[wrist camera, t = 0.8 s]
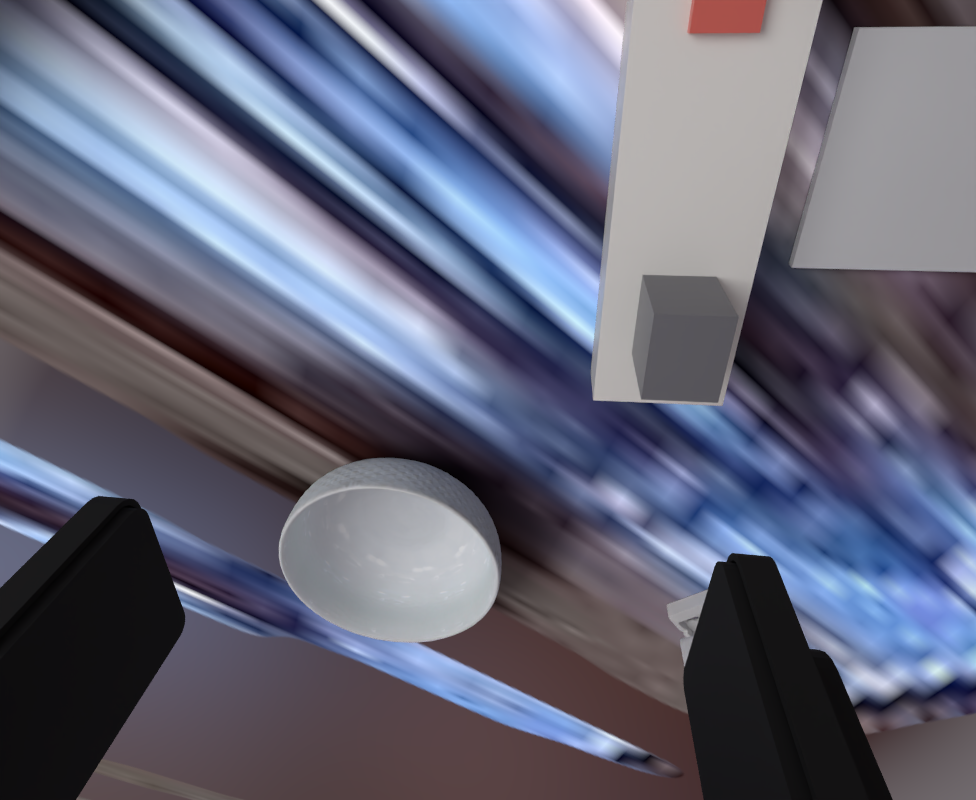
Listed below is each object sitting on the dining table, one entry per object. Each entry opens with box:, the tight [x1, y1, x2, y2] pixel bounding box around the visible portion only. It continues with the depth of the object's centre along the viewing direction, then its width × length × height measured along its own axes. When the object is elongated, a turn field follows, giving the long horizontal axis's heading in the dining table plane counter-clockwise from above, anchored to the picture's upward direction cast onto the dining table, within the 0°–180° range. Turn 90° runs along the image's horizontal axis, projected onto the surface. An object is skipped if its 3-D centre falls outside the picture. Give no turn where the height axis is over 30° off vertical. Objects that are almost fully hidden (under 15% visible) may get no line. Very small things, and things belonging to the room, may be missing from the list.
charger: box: [632, 275, 739, 403], centre depth 33 cm, size 5×4×7 cm
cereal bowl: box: [279, 458, 502, 643], centre depth 48 cm, size 17×17×7 cm
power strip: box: [591, 0, 823, 406], centre depth 33 cm, size 24×8×4 cm, turn 1°
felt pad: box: [789, 26, 976, 272], centre depth 32 cm, size 12×12×1 cm
